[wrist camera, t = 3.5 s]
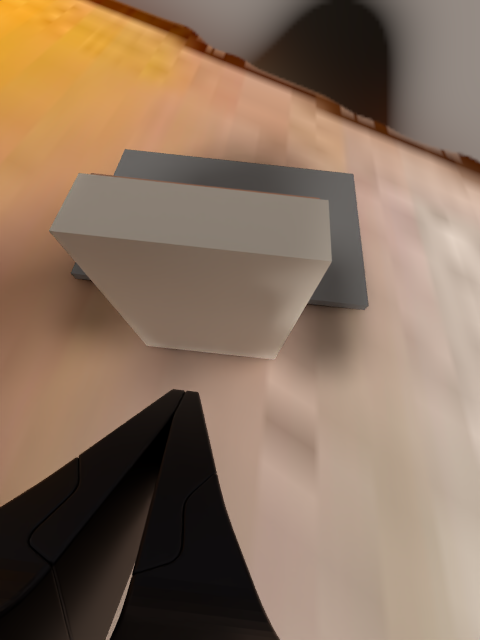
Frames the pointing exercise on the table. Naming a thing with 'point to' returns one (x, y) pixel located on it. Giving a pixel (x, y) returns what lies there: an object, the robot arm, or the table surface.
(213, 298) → the glazed tile
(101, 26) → the table surface
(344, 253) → the mat
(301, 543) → the table surface
